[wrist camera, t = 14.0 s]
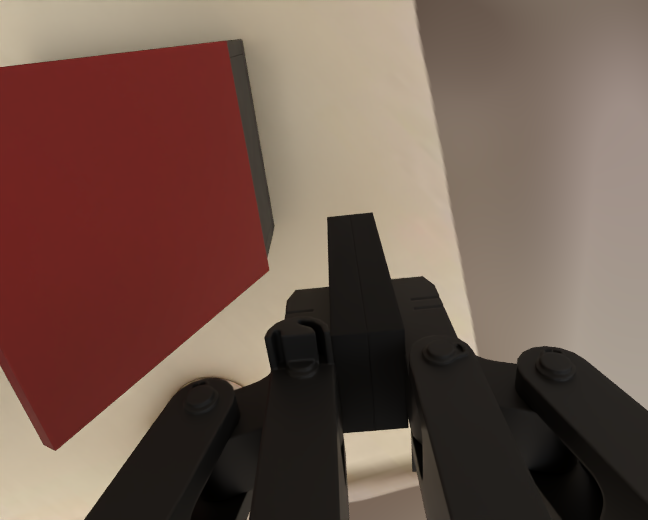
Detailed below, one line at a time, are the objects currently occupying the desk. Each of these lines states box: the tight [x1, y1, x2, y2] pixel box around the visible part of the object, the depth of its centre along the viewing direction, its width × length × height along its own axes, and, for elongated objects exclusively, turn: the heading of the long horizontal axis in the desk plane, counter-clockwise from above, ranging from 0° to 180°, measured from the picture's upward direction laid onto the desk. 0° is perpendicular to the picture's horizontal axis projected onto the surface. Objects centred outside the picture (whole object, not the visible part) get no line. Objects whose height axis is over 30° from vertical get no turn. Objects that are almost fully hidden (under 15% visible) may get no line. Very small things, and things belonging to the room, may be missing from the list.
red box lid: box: [0, 41, 269, 451], centre depth 21 cm, size 16×14×1 cm
